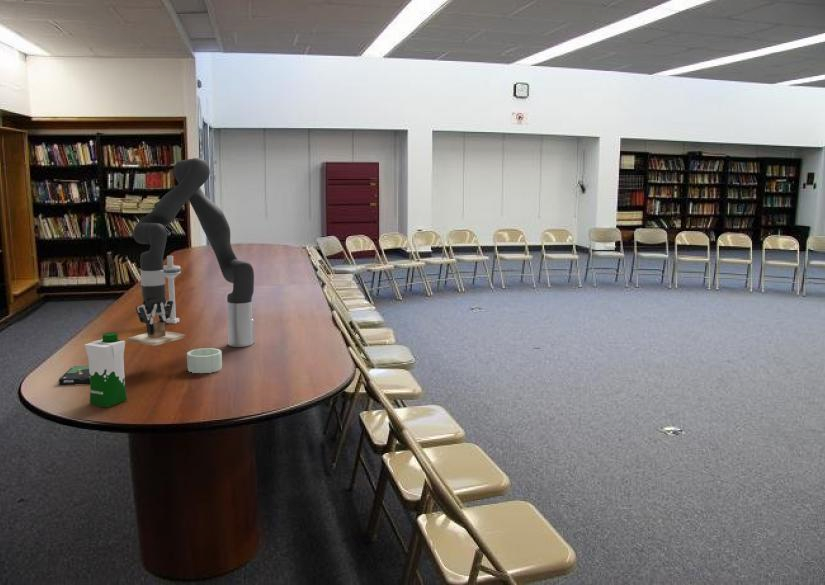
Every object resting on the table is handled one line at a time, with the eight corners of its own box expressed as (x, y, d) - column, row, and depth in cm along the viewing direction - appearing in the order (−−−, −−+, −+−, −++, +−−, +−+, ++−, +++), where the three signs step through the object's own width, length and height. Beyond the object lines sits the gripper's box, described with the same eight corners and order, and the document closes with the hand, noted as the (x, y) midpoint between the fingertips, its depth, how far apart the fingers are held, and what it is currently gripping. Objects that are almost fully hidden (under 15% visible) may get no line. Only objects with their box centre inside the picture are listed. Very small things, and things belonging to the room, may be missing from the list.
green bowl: (205, 363, 236) (204, 346, 235) (228, 367, 230) (227, 351, 229) (180, 370, 226) (180, 353, 225) (204, 375, 221) (203, 358, 220)
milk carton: (131, 399, 196) (128, 333, 193) (108, 409, 188) (103, 340, 185) (108, 396, 199) (104, 330, 196) (84, 405, 191) (79, 337, 188)
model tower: (185, 320, 303) (183, 255, 298) (177, 324, 295) (174, 257, 289) (168, 320, 303) (165, 254, 298) (159, 323, 295) (156, 256, 290)
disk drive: (94, 386, 210) (106, 372, 225) (93, 377, 210) (105, 364, 224) (58, 387, 208) (72, 373, 223) (58, 379, 208) (72, 365, 222)
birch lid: (159, 332, 234) (158, 317, 233) (185, 337, 227) (184, 321, 226) (127, 340, 222) (126, 324, 221) (154, 345, 216) (153, 329, 215)
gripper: (162, 279, 229) (165, 327, 232) (127, 285, 217) (131, 336, 220) (178, 281, 226) (180, 330, 229) (143, 287, 213) (146, 339, 217)
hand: (156, 332), depth 224 cm, fingers closed on birch lid, 4 cm apart
